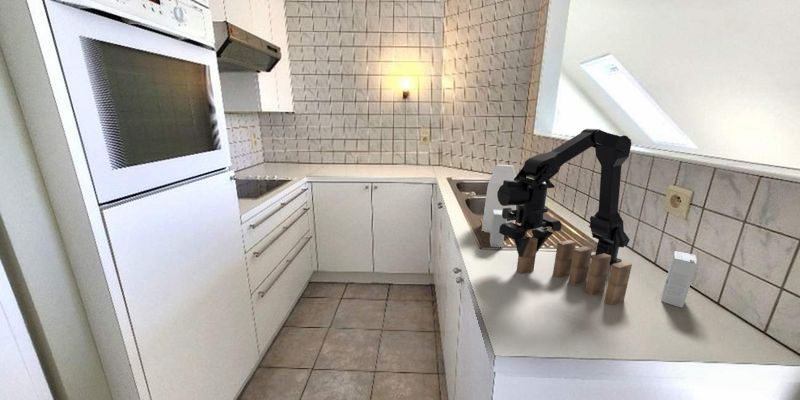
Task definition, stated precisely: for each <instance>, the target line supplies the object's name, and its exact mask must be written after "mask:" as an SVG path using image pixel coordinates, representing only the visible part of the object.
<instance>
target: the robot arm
mask: <svg viewBox="0 0 800 400" xmlns="http://www.w3.org/2000/svg"><path fill="white" fill-rule="evenodd" d="M590 148H593V149H595V157H596V159H597V161H598V162H599V164H600V177H599V178H600V181H599V195H598V196H599V198H598V210H597V212H596V213H594V215H590V217H589V225H588V228H590V231H591V236H592V238H593V239H595V240H597V245H596V250H595V253H594V254H591V258H592V256H595V255H599V254H603V253H605V254H608V255H610V256H611V260H610V264H609V266H612V264H616V263H619V262H623V261H622V259H621V258H618V255H619V250H620V248H622V249H623V248H625V247H627V246H628V245H629V243H630V238H629V236H628V235H627V233H626V232H625V229H624V220H623V218H622V217H621V214H620V213H619V203H620V202H619V201H620V189H621V178H622V176H621V175H622V167H623V166H622V165H624V163H625V162H626V161H627V159H629V157H630V153H631V149H632V139H631V138H629V136H627V135H625V134H624V135H623V134H622V135H621V134H614V133H611V132H608V131H604V130H601V129H600V128H598V129H597V128H585V129H583V130H581V132H579V134H577V135H575V136H574V137H572V138H570V139H569V140H567V141H566V142H564V143H562V144H561V145H559V146H558V147H556V148H554V149H552V150H551V151H548V152H544V153H540V154H537V155H534V156H532V157H529V158H527V159H526V160H525V161H524V165H523V166H522V167H521V169H520V170H519V171H518V173H517V174H516V177H515V178H514V181H509V180H504V181H503V185H501V186H500V188H499V190H498V192H497V197H498V201H499V203H500V204H501V205H502V206H510V205H516V206H518V207H517V208H516V210H512V209H511V208H503V211H502V217H503V219H507V221H510V220H515V224H514V223H512V222H510V223H504V224H502V225H500V229H499V233H500V234H503V235H504V237H507V238H510V239H512V240H514V244H515V247H516V251H517V254H518V255H519V256H520V257H522V256H523V254H524V252H525V250H526V247H527V245H528V242H529V240H530V238H529V236H527V235H528V232H529V231H531V233H532V237H535V238H537V239H538V243H537V250H536V254H537V253H538V251H539V250H540V249H541V248H542V247H543V245H544V244H545V242H546V241H548V239H549V238H550V237H551V236H552V235H553V234H554V233H555V232H560V231H561V230H562V225H563V224H562V222H561V221H560V220H558V219H556V218H553V217H549V216H545V213H548V212H549V208H546V200H547V193H548V189H554V188H555V185H554V184H553V182H552V181H551V180H552V178H553V177H554V176H556V175H557V174H558V173H559V172H560V169H561V167H562V166H563V165H565V164H566V163H567V162H568V163H569V162H570V161H571V160H572V159H574V158H576V157H577V156H579V155H580V154H583V153H584V152H585V151H586V150H588V149H590ZM519 224H520V225H519ZM549 228H551V230H552V231H550V229H549Z"/></svg>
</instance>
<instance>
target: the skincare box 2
mask: <svg viewBox="0 0 800 400" xmlns="http://www.w3.org/2000/svg"><path fill="white" fill-rule="evenodd" d="M697 265H698V258H697V255H695V254H692V253H687V252H682V251H676V250H675V251H673V255H672V258H671V261H670V265H669V269H668V271H667V275H666V278H665V281H664V285H663V289H662V292H661V295H660V296H661V297H660V300H661V302H662V303H665V304H668V305H671V306H675V307H678V308H683V307H684V305H685V302H686V300H687V296H688V293H689V290H690V286H691V283H692V281H693V278H694V275H695V272H696V268H697V267H698V266H697Z"/></svg>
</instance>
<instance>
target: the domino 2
mask: <svg viewBox="0 0 800 400" xmlns="http://www.w3.org/2000/svg"><path fill="white" fill-rule="evenodd" d="M575 245H576V241H574V240H572V239H567V240H562V241H558V242H557V246H556V252H555V258H554V264H553V271H552V276H554V277H556V278H562V277H564V276H568V275H570V269H571V263H572V257H573V252H574V249H576V247H575Z"/></svg>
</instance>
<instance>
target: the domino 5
mask: <svg viewBox="0 0 800 400" xmlns="http://www.w3.org/2000/svg"><path fill="white" fill-rule="evenodd" d="M610 266H611V267H610V272H609V275H608V276H609V277H608V281H607V286H606V290H605V296H604V301H603V302H604V303H606V304H608V305H611V306H613V305H616V304H620V303H622V302H624V301H625V298H626V292H627V288H628V284H629V281H630V275H631V271H632V267H633V263H631V262H628V261H626V260H624V261H621V262H618V263H615V264H611V265H610Z"/></svg>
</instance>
